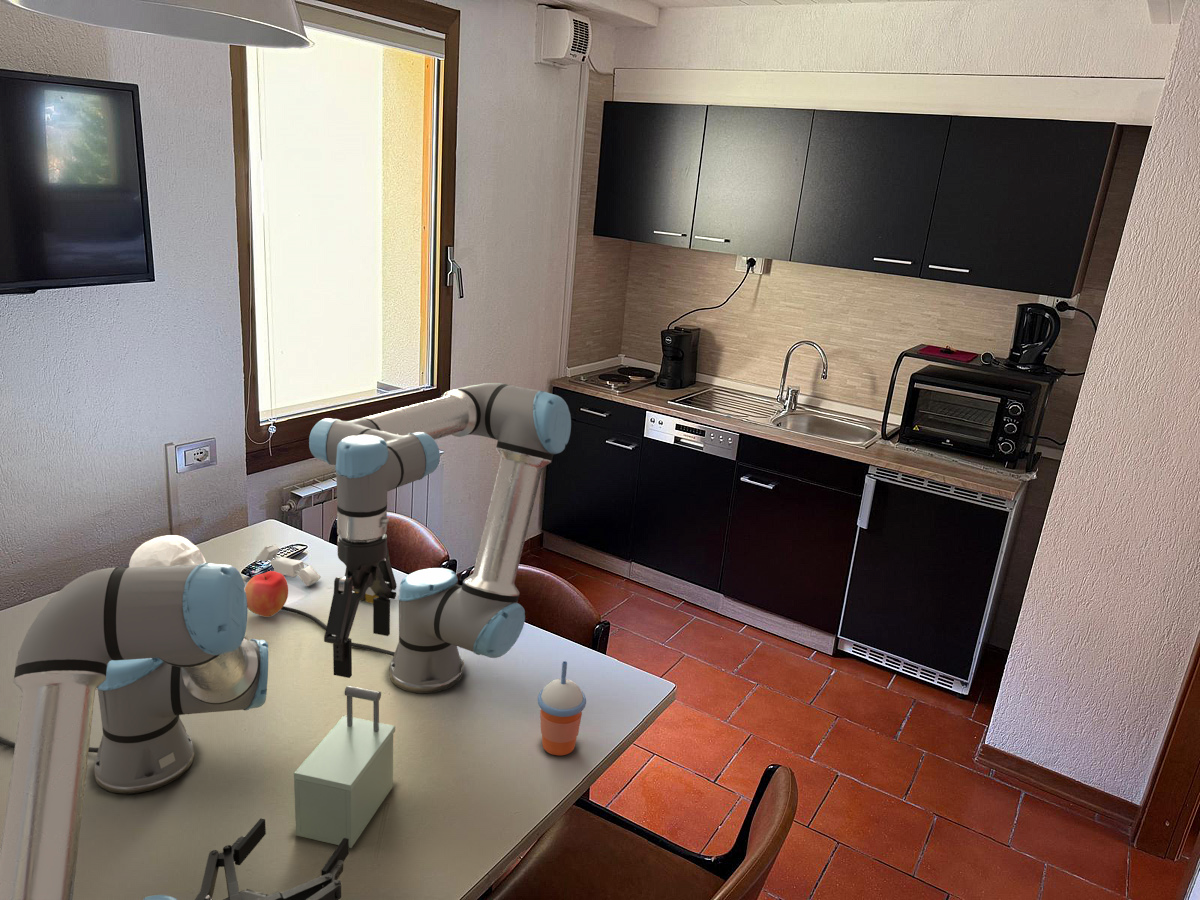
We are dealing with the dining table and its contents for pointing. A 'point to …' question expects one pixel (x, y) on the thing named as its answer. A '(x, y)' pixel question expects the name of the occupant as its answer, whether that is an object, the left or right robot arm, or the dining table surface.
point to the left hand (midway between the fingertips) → (304, 835)
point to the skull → (166, 553)
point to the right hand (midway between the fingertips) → (363, 653)
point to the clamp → (288, 565)
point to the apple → (266, 593)
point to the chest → (343, 803)
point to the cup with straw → (560, 714)
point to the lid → (347, 746)
